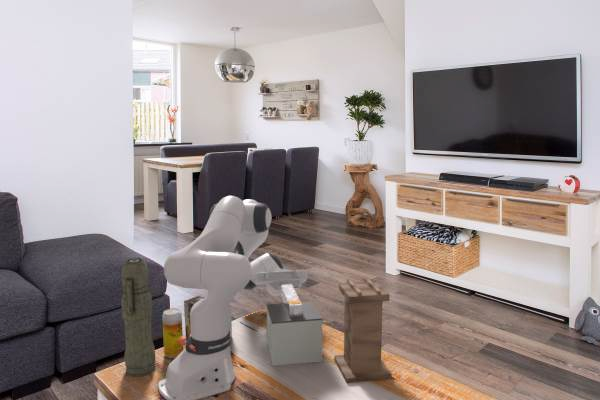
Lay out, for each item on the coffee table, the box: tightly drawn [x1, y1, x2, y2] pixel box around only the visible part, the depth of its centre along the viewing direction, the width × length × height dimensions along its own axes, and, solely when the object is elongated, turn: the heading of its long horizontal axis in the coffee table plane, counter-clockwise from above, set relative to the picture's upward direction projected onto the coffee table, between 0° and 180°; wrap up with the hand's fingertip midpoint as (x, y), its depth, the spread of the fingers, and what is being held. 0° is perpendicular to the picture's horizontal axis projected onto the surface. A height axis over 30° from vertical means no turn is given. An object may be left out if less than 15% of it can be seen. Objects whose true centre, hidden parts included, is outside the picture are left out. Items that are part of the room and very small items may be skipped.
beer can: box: [161, 308, 184, 359], centre depth 155 cm, size 6×6×15 cm
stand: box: [333, 277, 393, 384], centre depth 144 cm, size 14×14×27 cm
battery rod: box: [280, 284, 302, 318], centre depth 159 cm, size 21×4×4 cm, turn 10°
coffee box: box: [183, 295, 205, 340], centre depth 161 cm, size 9×6×16 cm
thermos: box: [120, 257, 156, 377], centre depth 144 cm, size 9×12×35 cm
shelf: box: [266, 300, 323, 367], centre depth 156 cm, size 15×16×14 cm
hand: (283, 272), depth 175 cm, fingers open, 8 cm apart
